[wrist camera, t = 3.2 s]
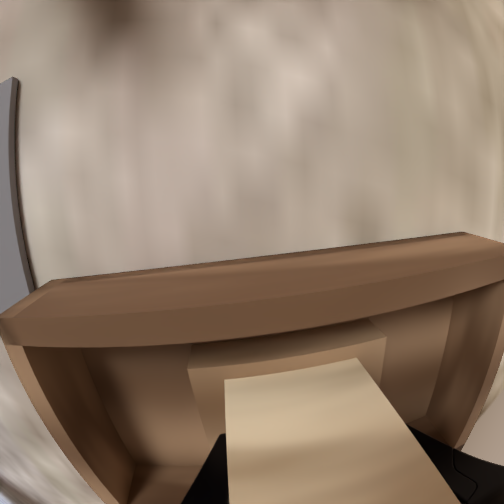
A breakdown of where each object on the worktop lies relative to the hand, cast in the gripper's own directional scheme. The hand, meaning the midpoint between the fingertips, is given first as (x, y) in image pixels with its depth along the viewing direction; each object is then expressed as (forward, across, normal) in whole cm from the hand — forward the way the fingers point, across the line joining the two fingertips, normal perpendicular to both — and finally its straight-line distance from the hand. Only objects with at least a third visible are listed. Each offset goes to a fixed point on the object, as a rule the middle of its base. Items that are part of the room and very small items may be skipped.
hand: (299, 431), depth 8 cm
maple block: (+1, 0, 0) cm, 1 cm away
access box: (+3, 0, 0) cm, 3 cm away
